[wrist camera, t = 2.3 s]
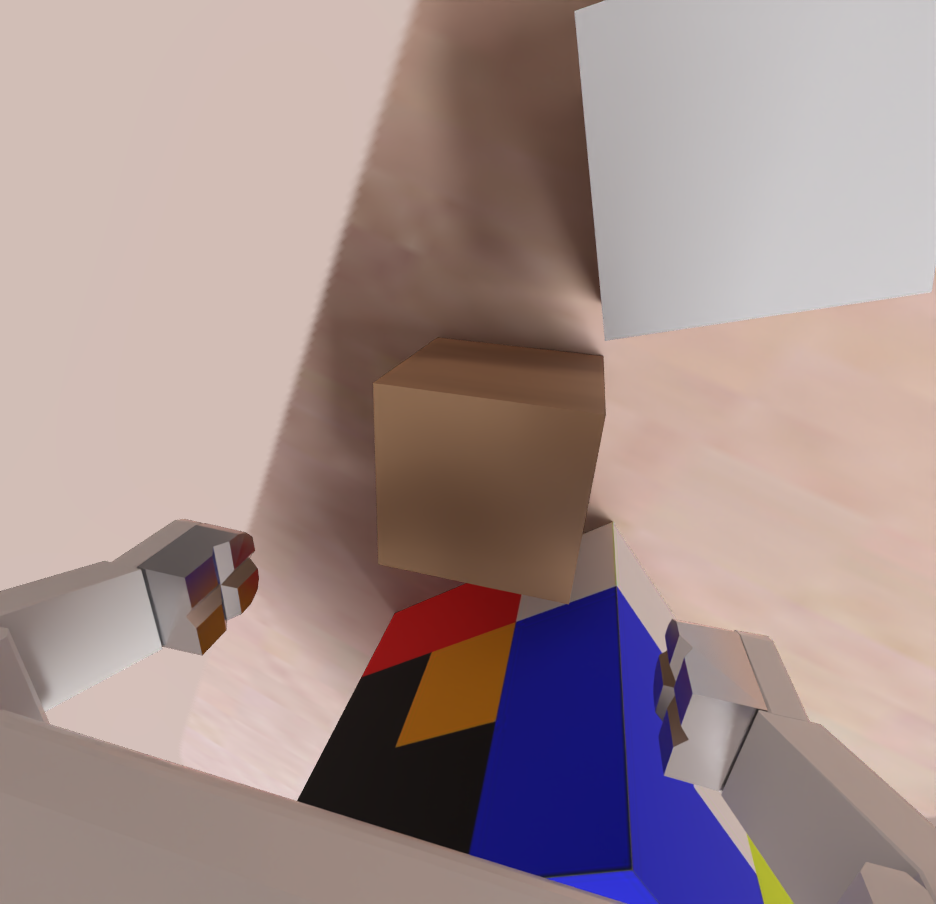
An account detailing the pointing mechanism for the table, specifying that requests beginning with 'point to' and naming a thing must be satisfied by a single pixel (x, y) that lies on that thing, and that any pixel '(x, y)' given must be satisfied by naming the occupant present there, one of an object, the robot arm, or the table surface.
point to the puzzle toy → (538, 742)
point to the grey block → (757, 156)
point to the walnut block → (488, 463)
